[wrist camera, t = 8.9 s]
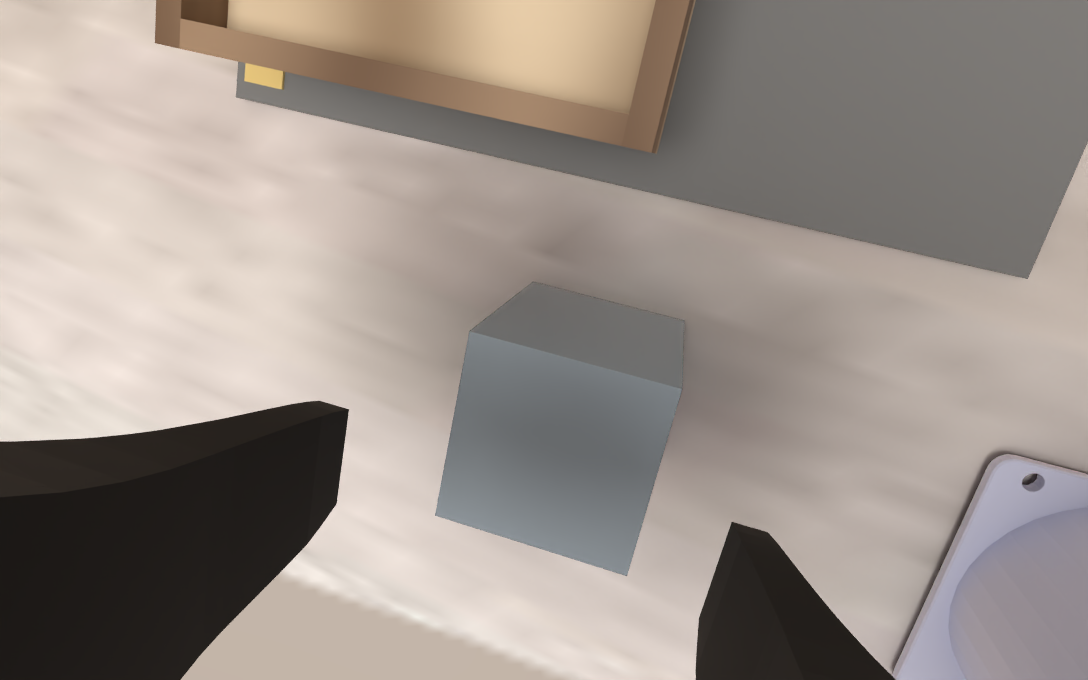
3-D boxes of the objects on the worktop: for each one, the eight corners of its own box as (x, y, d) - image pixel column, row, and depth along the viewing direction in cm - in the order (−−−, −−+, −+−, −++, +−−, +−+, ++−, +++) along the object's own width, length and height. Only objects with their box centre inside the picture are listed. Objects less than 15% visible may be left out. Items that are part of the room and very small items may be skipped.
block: (684, 320, 19) (682, 389, 13) (644, 459, 20) (626, 576, 15) (533, 281, 20) (469, 330, 14) (504, 419, 21) (435, 515, 15)
